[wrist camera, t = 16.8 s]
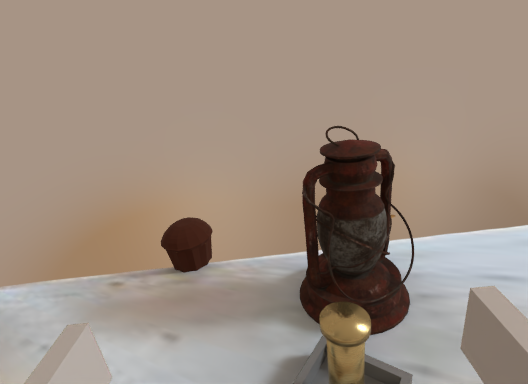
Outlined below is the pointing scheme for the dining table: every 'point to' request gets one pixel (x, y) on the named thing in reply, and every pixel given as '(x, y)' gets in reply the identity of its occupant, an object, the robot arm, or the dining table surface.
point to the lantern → (353, 235)
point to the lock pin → (345, 341)
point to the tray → (375, 372)
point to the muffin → (188, 244)
